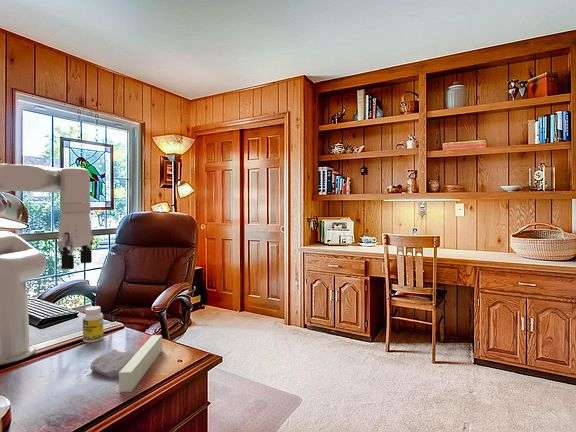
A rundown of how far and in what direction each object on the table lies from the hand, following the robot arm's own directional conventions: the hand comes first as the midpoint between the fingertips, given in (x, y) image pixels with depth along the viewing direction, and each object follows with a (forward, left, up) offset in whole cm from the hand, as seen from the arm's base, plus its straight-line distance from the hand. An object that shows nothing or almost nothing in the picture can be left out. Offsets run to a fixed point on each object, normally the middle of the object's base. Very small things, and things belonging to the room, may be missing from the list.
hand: (77, 265), depth 105 cm
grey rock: (+14, -8, -29) cm, 33 cm away
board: (+22, -8, -28) cm, 37 cm away
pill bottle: (-3, +14, -28) cm, 32 cm away
